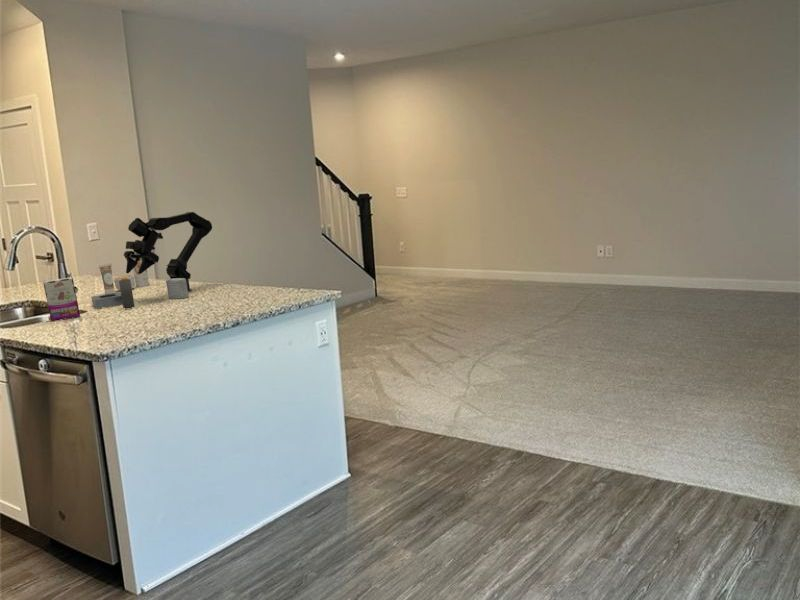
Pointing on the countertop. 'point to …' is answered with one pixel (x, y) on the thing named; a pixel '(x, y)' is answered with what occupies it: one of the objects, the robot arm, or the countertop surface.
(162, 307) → the countertop surface
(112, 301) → the housing
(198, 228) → the robot arm
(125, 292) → the grey upright block
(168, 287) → the medicine box
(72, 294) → the candy bar box
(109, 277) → the cosmetic set
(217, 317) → the countertop surface
